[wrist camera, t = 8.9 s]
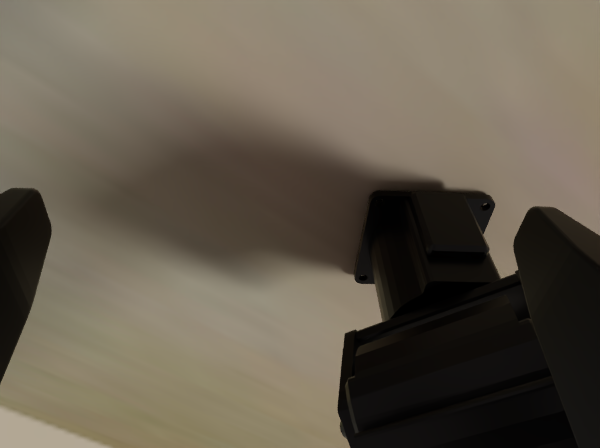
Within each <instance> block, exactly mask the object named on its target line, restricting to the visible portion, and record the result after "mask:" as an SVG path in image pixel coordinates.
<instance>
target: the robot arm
mask: <svg viewBox="0 0 600 448" xmlns="http://www.w3.org/2000/svg"><path fill="white" fill-rule="evenodd" d="M379 199H382V200H383V201H381V202H376V201H377V200H379ZM484 203H487V204H486V205H484V206H481V205H482V204H484ZM494 208H495V203H494V201H493V199H492V197H491V196H490V195H484V194H462V193H443V192H403V191H376V192H373V193H372V194H371V195H370V197H369V201H368V206H367V211H366V216H365V220H364V225H363V230H362V235H361V240H360V245H359V250H358V255H357V260H356V265H355V270H354V278H355V281H356V282H357V283H360V284H375V286H376V291H377V297H378V302H379V307H380V312H381V317H382V322H381V323H378V324H375V325H373V326H370V327H367V328H364V329H362V330H359V331H357V330H353V331H350V332H348V333H345V338H344V348H343V355H342V366H341V377H340V387H339V398H338V414H339V417H340V419H341V422H340V429H341V433H342V435H343V436H344V437H345V438H346V439H347V440H348V442H349V445H350V447H351V448H600V236H599V235H598V234H596V233H595V232H593V231H591V230H590V229H588V228H587V227H585V226H583V225H582V224H580V223H579V222H577V221H575V220H574V219H572V218H571V217H569V216H568V215H566V214H564V213H563V212H561V211H560V210H558V209H556V208H554V207H539V206H535V207H532V208H530V209H529V210H528V212H527V213H526V215H525V218H524V220H523V222H522V224H521V226H520V228H519V230H518V232H517V234H516V236H515V239H514V245H513V247H514V254H515V258H516V262H517V266H518V270H517V271H515V273H516V274H513V275H510V276H507V277H505V278H502V279H501V277H500V275H499V273H498V271H497V269H496V267H495V264H494V262H493V260H492V258H491V256H490V254H489V246H488V244H487V242H486V240H485V238H484V236H483V234H484V232H485V229H486V227H487V225H488V222H489V220H490V217H491V215H492V213H493V210H494ZM51 232H52V229H51V223H50V220H49V217H48V214H47V211H46V208H45V205H44V202H43V199H42V196H41V194H40V193H39V191H38V190H36V189H33V188H11V189H9V190H7V191H5V192H3V193H2V194H0V383H1V381H2V379H3V376H4V374H5V371H6V369H7V366H8V364H9V362H10V359H11V357H12V354H13V352H14V350H15V347H16V345H17V342H18V340H19V337H20V335H21V333H22V330H23V328H24V325H25V323H26V320H27V318H28V315H29V313H30V310H31V307H32V304H33V300H34V297H35V294H36V290H37V286H38V283H39V279H40V275H41V272H42V268H43V264H44V260H45V257H46V253H47V249H48V246H49V242H50V238H51ZM361 275H364V276H361Z"/></svg>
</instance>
